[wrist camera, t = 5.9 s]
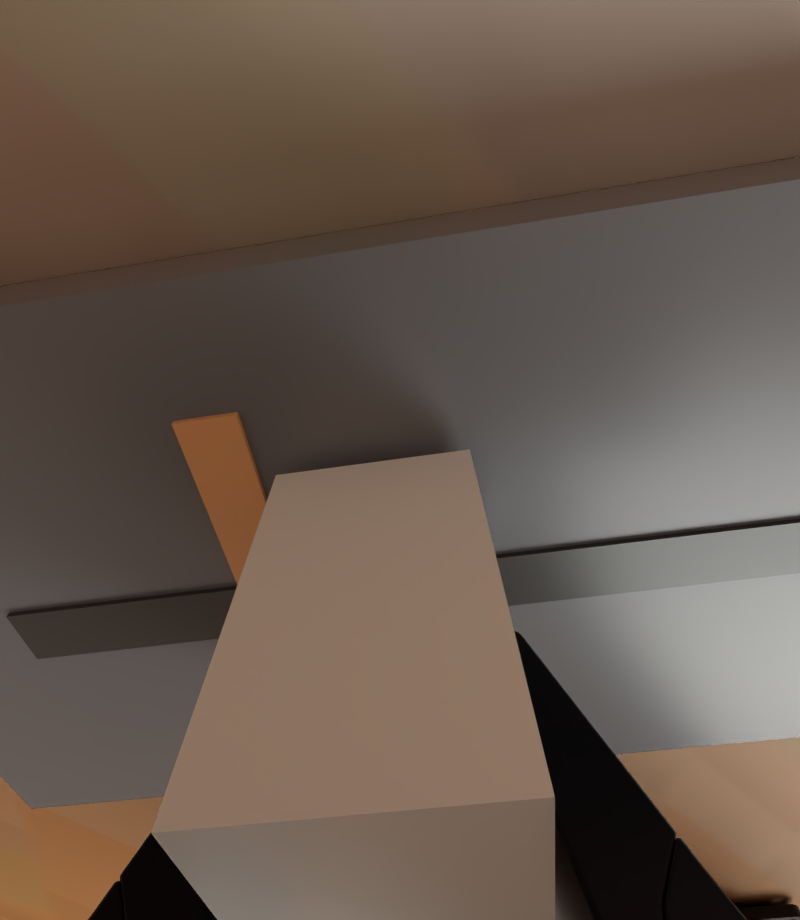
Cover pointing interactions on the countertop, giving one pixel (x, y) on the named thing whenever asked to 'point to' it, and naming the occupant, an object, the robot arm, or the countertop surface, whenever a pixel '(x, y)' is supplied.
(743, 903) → the countertop surface
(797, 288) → the fader console
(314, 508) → the fader tab
